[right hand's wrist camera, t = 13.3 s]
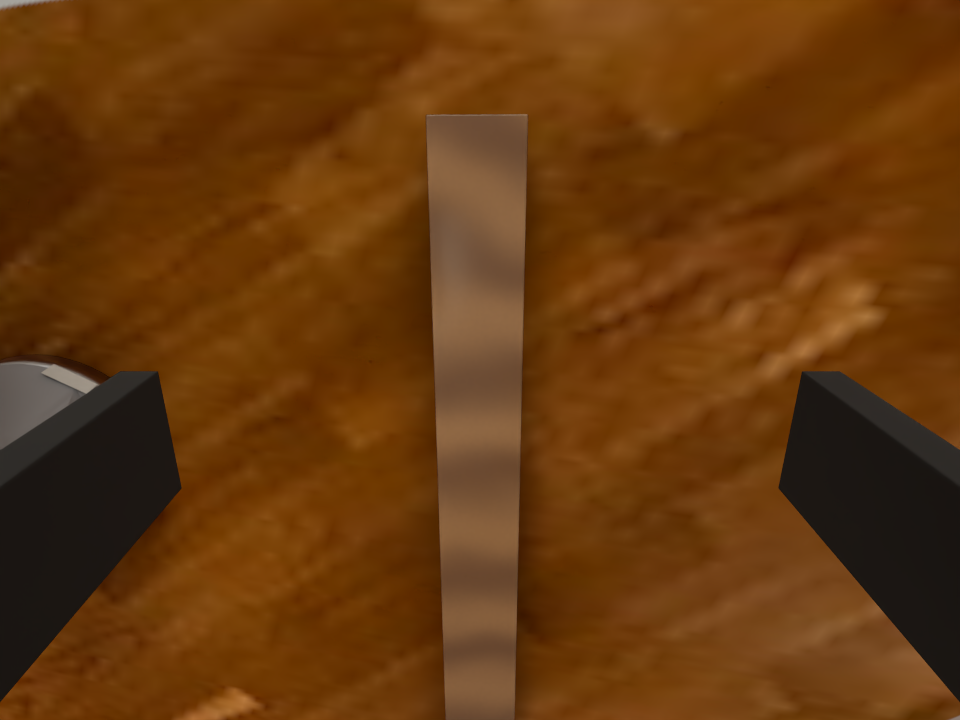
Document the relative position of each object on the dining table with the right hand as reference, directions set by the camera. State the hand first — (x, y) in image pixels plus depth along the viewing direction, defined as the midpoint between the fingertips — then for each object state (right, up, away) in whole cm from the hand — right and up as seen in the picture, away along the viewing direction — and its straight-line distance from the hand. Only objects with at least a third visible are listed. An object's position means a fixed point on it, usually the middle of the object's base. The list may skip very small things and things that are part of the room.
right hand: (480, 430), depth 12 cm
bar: (0, -10, +34) cm, 35 cm away
